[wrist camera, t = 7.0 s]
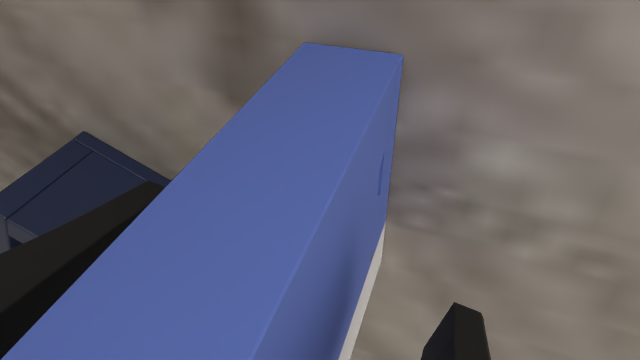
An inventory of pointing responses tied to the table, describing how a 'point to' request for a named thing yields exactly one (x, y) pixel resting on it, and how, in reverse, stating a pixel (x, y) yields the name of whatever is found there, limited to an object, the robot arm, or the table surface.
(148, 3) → the table surface
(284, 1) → the table surface
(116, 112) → the table surface
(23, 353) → the walkman
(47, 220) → the holder
